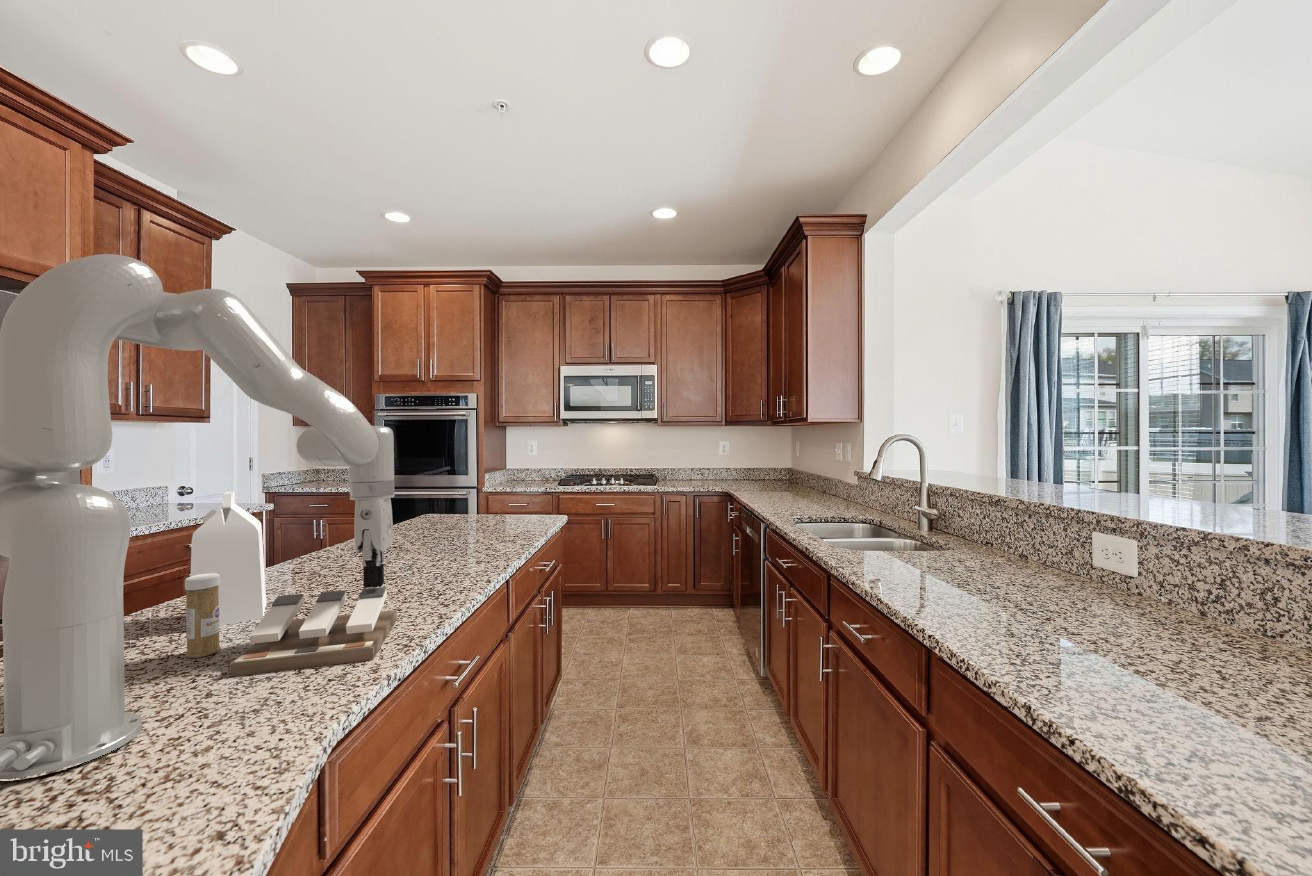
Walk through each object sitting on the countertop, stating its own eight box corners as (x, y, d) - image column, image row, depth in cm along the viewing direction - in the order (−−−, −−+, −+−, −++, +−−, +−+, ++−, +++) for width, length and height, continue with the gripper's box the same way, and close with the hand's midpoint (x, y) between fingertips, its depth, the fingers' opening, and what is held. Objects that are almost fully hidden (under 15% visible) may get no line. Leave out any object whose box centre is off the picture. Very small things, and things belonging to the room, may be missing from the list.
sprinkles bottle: (218, 654, 89) (217, 576, 89) (183, 661, 87) (182, 580, 87) (222, 645, 93) (221, 570, 93) (188, 652, 91) (187, 574, 91)
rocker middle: (326, 635, 88) (325, 625, 88) (299, 638, 87) (298, 628, 87) (346, 598, 100) (345, 589, 99) (322, 600, 99) (321, 591, 98)
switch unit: (372, 659, 86) (372, 635, 86) (230, 676, 81) (229, 650, 81) (396, 619, 106) (396, 600, 106) (282, 630, 100) (282, 610, 100)
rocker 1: (278, 640, 86) (277, 630, 86) (250, 643, 85) (249, 633, 85) (304, 602, 98) (303, 593, 97) (279, 604, 97) (278, 595, 96)
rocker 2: (372, 631, 90) (371, 621, 90) (346, 633, 89) (345, 624, 89) (386, 595, 102) (386, 586, 101) (364, 597, 100) (363, 588, 100)
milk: (263, 619, 107) (261, 493, 107) (188, 631, 100) (187, 497, 100) (266, 604, 117) (265, 488, 117) (198, 614, 110) (197, 492, 110)
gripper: (385, 493, 93) (387, 595, 94) (401, 486, 108) (402, 574, 108) (338, 495, 91) (339, 599, 91) (360, 487, 106) (362, 577, 106)
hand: (373, 585), depth 100 cm, fingers closed
